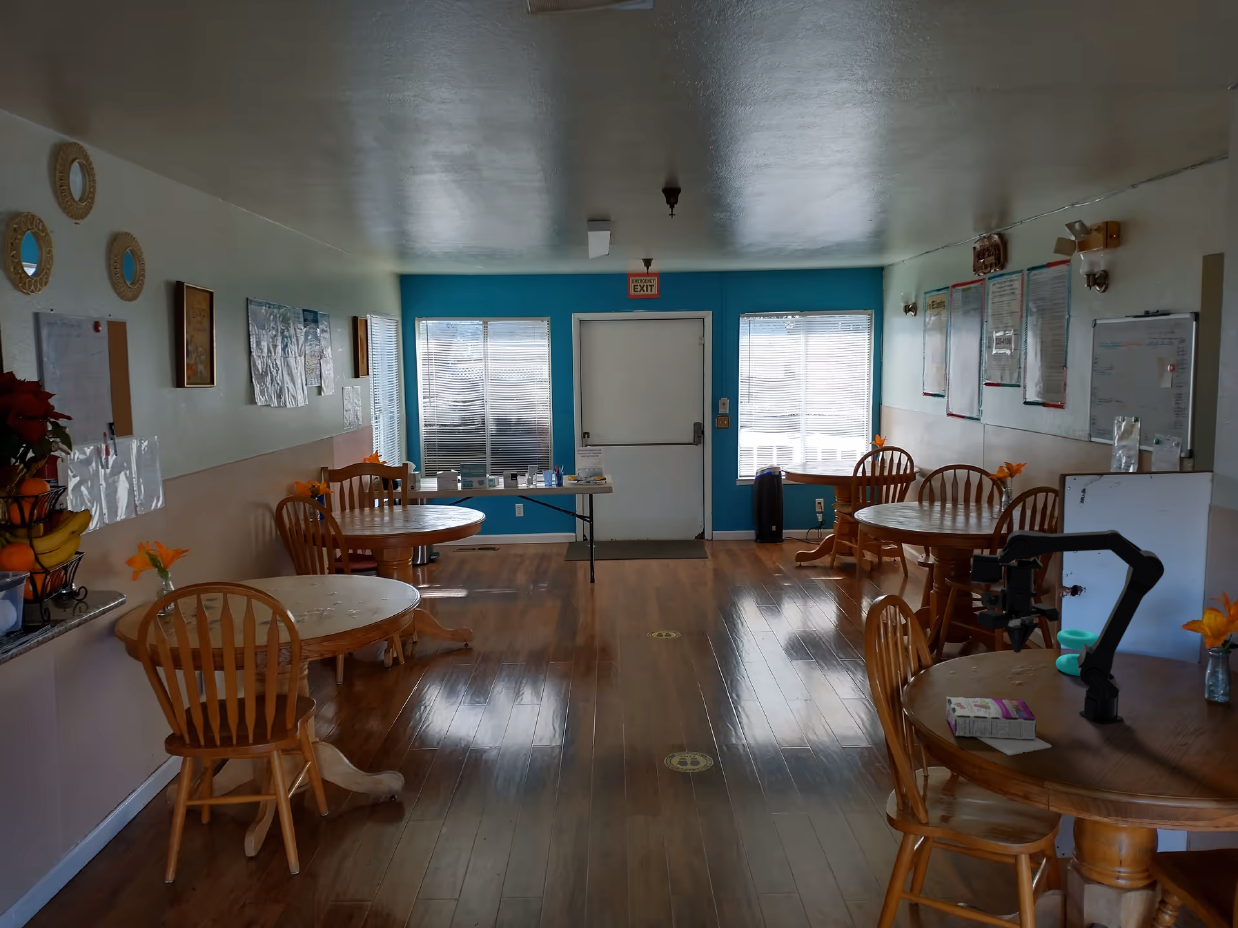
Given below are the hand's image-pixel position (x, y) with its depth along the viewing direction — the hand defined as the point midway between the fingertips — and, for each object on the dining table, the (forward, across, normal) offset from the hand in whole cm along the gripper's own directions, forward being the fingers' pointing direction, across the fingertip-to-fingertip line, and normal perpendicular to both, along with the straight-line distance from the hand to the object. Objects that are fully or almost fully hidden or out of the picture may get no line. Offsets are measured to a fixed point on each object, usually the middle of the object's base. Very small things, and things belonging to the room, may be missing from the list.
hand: (1016, 652), depth 207 cm
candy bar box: (+10, +8, +13) cm, 18 cm away
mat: (+13, +14, +14) cm, 24 cm away
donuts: (+13, -32, -13) cm, 37 cm away
